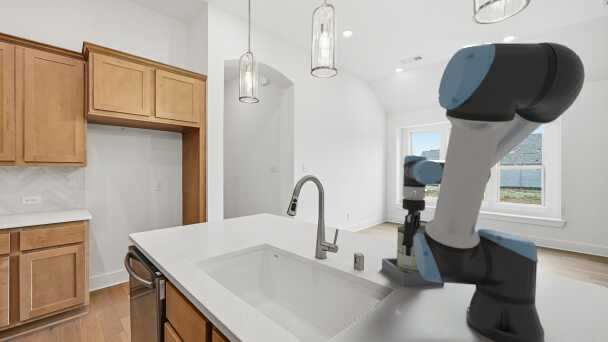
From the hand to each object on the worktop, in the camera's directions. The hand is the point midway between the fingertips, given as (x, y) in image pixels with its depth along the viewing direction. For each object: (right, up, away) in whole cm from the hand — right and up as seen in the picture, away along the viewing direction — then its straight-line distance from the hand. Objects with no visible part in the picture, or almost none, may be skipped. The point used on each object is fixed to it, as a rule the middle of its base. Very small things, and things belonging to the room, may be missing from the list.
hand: (411, 260), depth 96 cm
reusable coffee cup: (+12, -6, +23) cm, 26 cm away
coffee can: (0, -3, 0) cm, 3 cm away
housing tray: (0, -6, 0) cm, 6 cm away
